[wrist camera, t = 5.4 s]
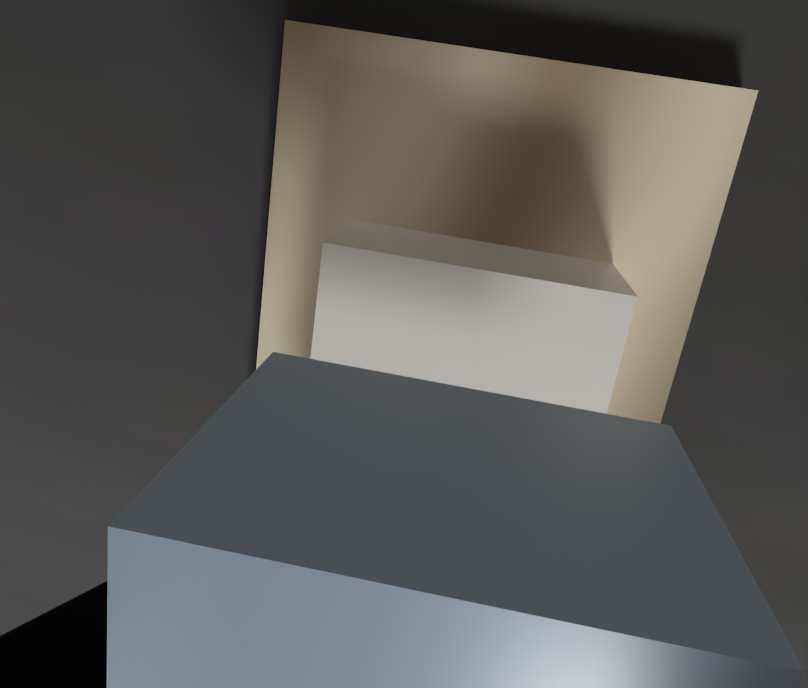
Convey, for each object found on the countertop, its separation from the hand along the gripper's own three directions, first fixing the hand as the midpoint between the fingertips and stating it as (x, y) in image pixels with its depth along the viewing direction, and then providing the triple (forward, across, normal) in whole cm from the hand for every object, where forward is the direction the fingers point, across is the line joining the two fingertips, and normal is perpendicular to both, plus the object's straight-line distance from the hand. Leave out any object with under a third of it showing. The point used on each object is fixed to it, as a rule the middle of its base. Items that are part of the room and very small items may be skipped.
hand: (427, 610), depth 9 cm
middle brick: (+1, 0, 0) cm, 1 cm away
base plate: (+10, 0, 0) cm, 10 cm away
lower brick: (+9, 0, 0) cm, 9 cm away
